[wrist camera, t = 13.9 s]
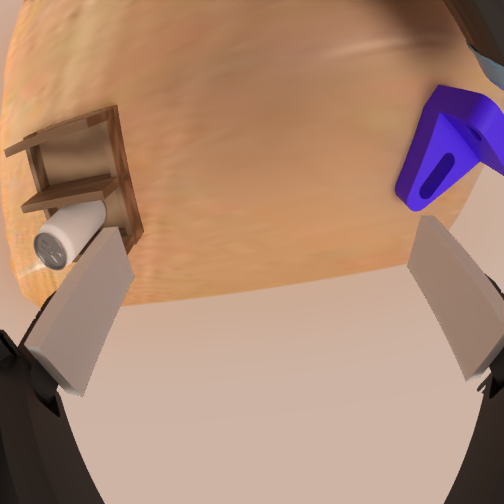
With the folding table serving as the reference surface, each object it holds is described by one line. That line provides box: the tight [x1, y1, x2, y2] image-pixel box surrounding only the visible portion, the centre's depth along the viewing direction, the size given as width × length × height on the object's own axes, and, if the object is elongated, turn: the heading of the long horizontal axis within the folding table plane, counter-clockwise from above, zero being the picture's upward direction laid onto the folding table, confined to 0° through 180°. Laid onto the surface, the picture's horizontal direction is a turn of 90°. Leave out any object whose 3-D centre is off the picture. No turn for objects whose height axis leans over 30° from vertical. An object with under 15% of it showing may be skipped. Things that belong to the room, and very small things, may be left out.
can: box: [34, 200, 106, 270], centre depth 34 cm, size 6×6×12 cm
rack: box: [4, 105, 144, 262], centre depth 34 cm, size 20×16×8 cm
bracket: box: [395, 85, 504, 211], centre depth 29 cm, size 18×11×12 cm, turn 151°
